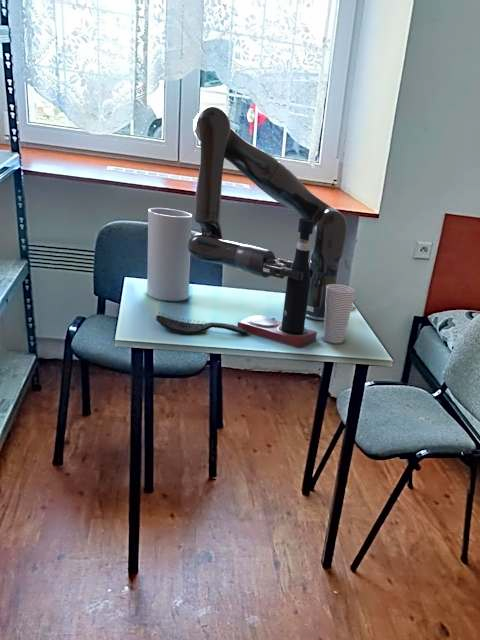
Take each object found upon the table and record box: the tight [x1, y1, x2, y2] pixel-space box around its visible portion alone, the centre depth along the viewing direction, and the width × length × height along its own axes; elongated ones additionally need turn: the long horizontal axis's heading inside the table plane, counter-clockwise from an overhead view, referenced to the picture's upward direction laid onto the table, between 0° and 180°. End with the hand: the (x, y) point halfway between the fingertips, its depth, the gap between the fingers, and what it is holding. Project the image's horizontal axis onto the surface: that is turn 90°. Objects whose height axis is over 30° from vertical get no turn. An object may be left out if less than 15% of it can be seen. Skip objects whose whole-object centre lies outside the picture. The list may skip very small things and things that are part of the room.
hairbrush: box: [155, 311, 249, 336], centre depth 182 cm, size 8×4×25 cm
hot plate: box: [237, 314, 318, 348], centre depth 190 cm, size 12×20×3 cm, turn 66°
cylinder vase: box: [146, 207, 193, 302], centre depth 200 cm, size 12×12×25 cm
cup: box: [322, 283, 356, 344], centre depth 191 cm, size 8×8×16 cm
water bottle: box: [281, 217, 314, 333], centre depth 181 cm, size 6×6×30 cm
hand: (307, 275), depth 180 cm, fingers closed on water bottle, 6 cm apart
